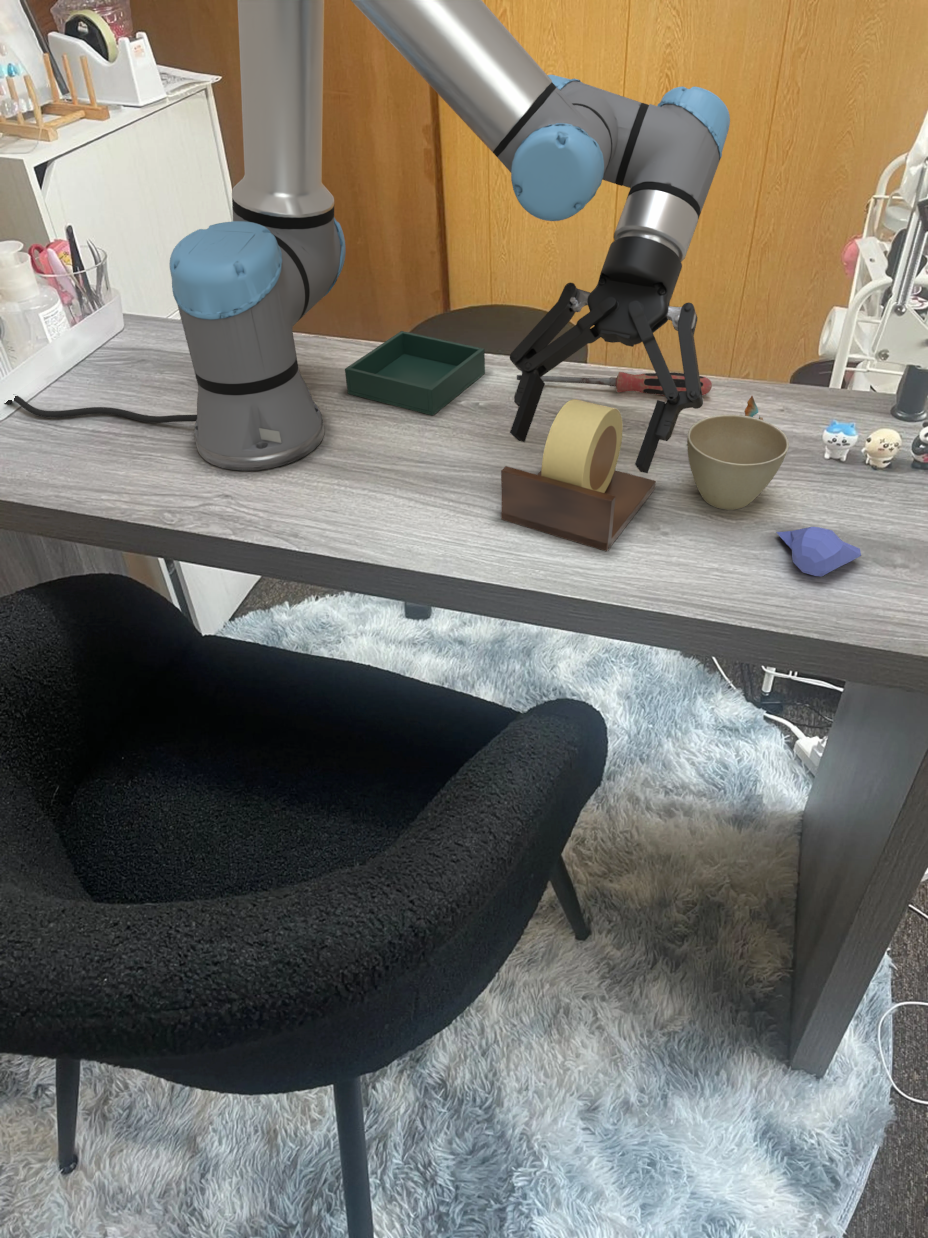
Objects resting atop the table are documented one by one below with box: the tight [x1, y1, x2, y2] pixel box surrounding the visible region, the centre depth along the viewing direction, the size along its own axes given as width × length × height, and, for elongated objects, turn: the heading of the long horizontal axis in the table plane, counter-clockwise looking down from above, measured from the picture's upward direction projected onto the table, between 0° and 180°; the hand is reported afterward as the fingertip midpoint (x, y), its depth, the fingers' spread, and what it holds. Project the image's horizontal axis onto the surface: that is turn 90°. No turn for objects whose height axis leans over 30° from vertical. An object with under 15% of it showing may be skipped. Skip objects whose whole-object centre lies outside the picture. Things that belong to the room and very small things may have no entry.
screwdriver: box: [516, 371, 713, 397], centre depth 113 cm, size 25×3×3 cm
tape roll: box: [540, 398, 624, 493], centre depth 90 cm, size 5×10×10 cm, turn 150°
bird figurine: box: [776, 526, 862, 577], centre depth 85 cm, size 8×6×6 cm
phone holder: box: [500, 465, 657, 552], centre depth 93 cm, size 12×13×6 cm
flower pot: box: [686, 413, 790, 511], centre depth 92 cm, size 10×10×7 cm
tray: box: [344, 330, 486, 417], centre depth 116 cm, size 13×13×4 cm
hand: (577, 453), depth 89 cm, fingers open, 13 cm apart
